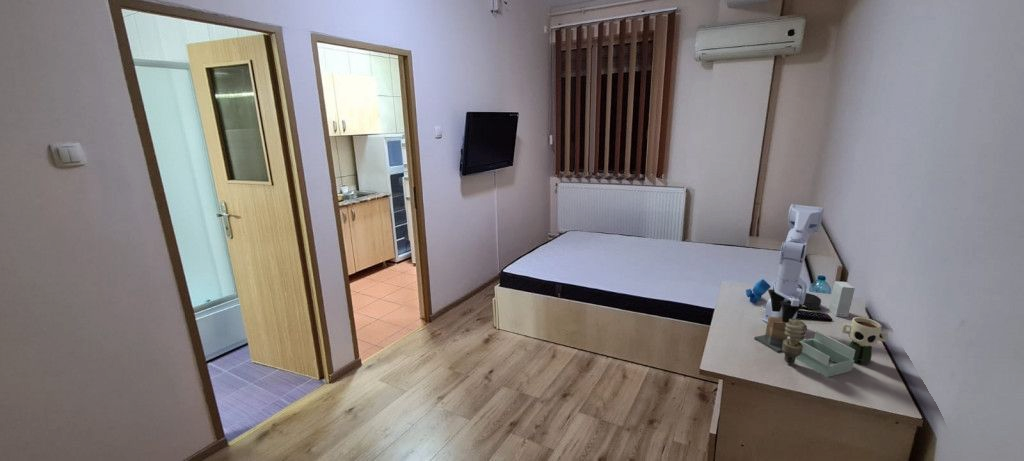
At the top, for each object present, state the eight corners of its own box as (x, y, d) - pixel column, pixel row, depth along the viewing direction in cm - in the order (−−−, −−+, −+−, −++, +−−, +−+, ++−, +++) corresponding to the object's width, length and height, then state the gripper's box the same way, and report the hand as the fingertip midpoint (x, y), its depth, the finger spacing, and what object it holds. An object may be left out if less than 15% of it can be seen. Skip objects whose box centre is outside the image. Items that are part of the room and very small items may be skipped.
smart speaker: (788, 300, 176) (790, 291, 175) (811, 301, 175) (813, 292, 174) (800, 310, 167) (802, 301, 166) (824, 311, 166) (826, 301, 165)
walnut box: (764, 337, 146) (768, 316, 144) (780, 338, 146) (784, 317, 143) (769, 343, 143) (773, 322, 140) (785, 345, 142) (790, 323, 140)
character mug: (836, 359, 135) (845, 322, 131) (835, 349, 140) (843, 313, 137) (881, 370, 129) (892, 332, 125) (878, 359, 135) (888, 322, 131)
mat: (754, 338, 147) (754, 337, 147) (774, 334, 150) (774, 332, 150) (777, 352, 139) (777, 350, 139) (798, 347, 142) (798, 345, 141)
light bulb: (799, 371, 129) (808, 326, 125) (778, 365, 132) (786, 321, 128) (798, 361, 134) (808, 318, 129) (778, 356, 136) (786, 313, 132)
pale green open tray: (785, 353, 138) (789, 335, 136) (811, 347, 141) (815, 329, 140) (826, 377, 126) (830, 357, 124) (852, 370, 129) (857, 351, 128)
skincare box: (848, 317, 161) (855, 288, 158) (835, 316, 162) (842, 287, 159) (840, 310, 167) (846, 281, 164) (827, 309, 168) (834, 280, 164)
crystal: (742, 286, 172) (754, 272, 179) (741, 304, 176) (752, 290, 183) (763, 292, 167) (773, 277, 174) (761, 310, 170) (771, 295, 177)
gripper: (813, 288, 130) (805, 328, 134) (790, 270, 144) (783, 307, 148) (788, 286, 131) (780, 326, 135) (768, 269, 145) (761, 306, 149)
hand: (780, 316), depth 141 cm, fingers open, 7 cm apart
